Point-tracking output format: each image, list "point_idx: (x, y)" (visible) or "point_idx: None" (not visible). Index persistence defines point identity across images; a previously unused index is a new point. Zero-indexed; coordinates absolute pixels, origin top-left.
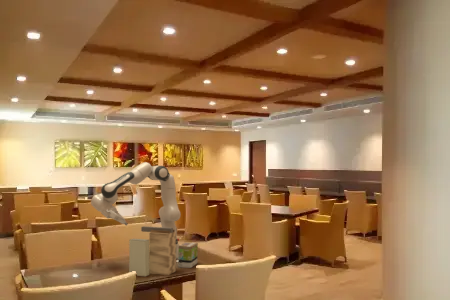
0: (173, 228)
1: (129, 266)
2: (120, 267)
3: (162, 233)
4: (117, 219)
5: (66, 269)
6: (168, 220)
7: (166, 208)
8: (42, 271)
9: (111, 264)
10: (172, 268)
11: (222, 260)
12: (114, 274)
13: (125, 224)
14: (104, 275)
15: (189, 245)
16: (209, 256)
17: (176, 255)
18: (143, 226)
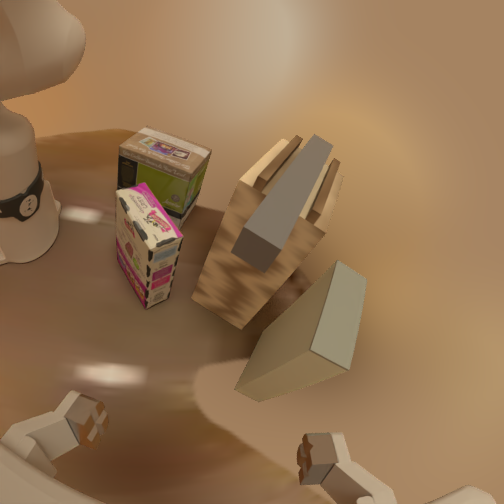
0: (28, 121)
1: (272, 397)
2: (123, 446)
3: (335, 187)
4: None
5: None
6: (29, 92)
7: (32, 27)
8: None
9: (60, 477)
10: None
11: None
12: (248, 458)
13: (99, 429)
14: (260, 490)
15: (196, 149)
16: (80, 145)
17: (55, 206)
18: (254, 230)
